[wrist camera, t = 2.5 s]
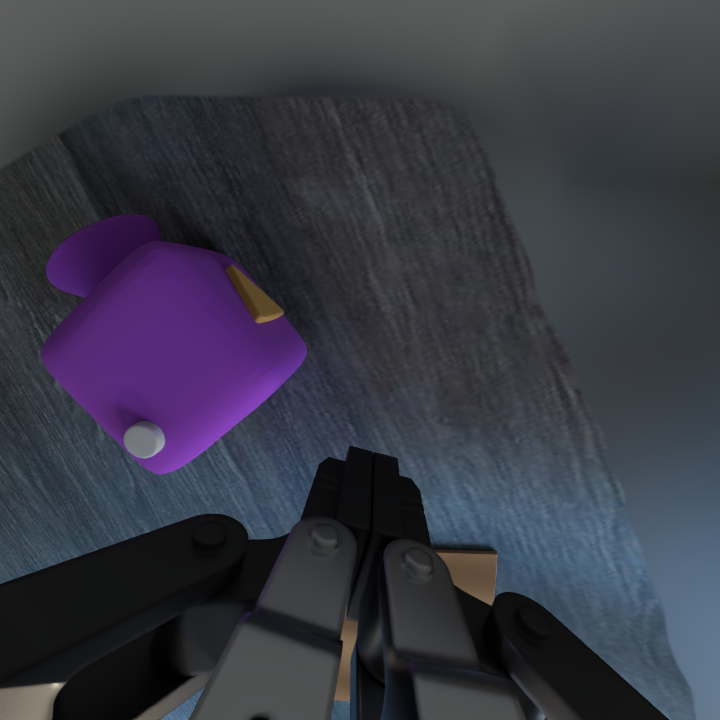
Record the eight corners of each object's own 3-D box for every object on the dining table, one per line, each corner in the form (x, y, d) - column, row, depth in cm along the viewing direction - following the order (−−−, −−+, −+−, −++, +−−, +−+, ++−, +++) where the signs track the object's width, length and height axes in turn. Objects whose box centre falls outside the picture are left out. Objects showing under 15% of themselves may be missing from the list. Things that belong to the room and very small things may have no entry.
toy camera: (176, 200, 24) (35, 139, 14) (332, 327, 25) (302, 353, 15) (99, 321, 26) (-72, 342, 16) (246, 433, 27) (171, 516, 17)
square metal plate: (301, 544, 29) (300, 548, 28) (496, 550, 28) (498, 554, 28) (308, 694, 32) (308, 698, 32) (483, 703, 31) (485, 708, 31)
